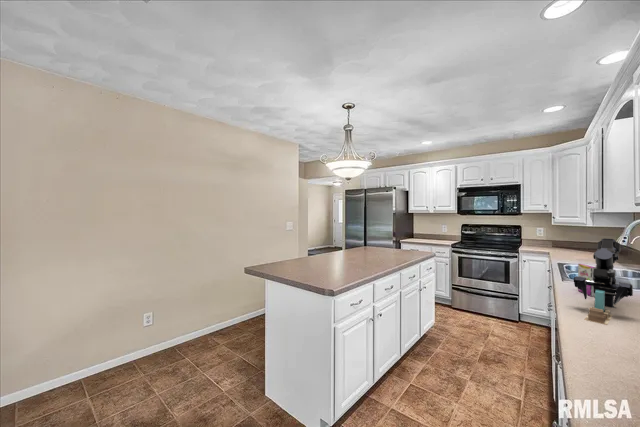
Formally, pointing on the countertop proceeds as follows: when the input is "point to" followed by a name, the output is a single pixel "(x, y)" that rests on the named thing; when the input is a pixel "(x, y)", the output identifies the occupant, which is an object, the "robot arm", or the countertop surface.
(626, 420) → the countertop surface
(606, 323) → the rack
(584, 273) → the candy bar box
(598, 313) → the offcut stack
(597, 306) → the teal panel
